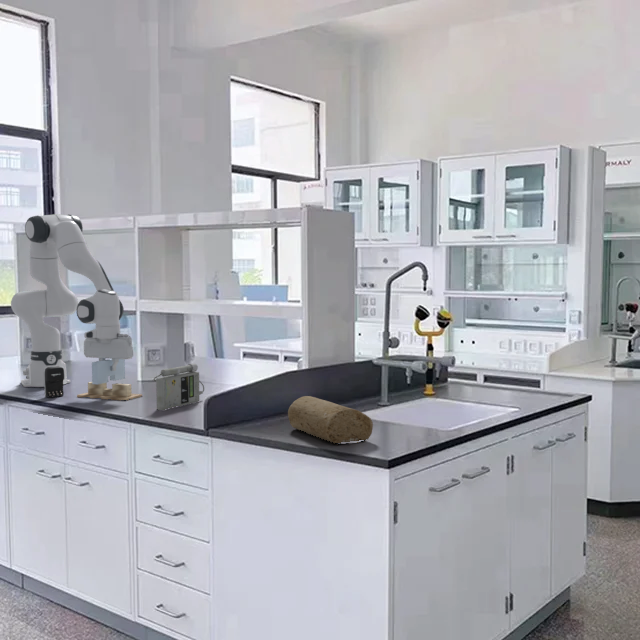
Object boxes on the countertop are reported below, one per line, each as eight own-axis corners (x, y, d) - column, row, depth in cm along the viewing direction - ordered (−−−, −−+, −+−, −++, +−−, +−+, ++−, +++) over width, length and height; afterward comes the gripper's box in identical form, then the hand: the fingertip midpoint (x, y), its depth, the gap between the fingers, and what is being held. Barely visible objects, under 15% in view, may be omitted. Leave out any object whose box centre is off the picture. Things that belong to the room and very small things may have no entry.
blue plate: (97, 384, 270) (97, 362, 270) (92, 384, 271) (91, 362, 271) (125, 378, 285) (124, 357, 285) (119, 378, 286) (119, 357, 286)
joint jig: (77, 397, 278) (76, 383, 278) (94, 392, 288) (94, 380, 287) (125, 400, 270) (125, 387, 270) (142, 396, 279) (142, 383, 279)
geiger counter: (164, 370, 249) (210, 361, 271) (150, 368, 252) (196, 360, 274) (165, 411, 250) (211, 399, 272) (150, 409, 253) (197, 398, 275)
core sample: (324, 425, 228) (324, 392, 227) (374, 442, 205) (374, 406, 204) (284, 430, 221) (283, 397, 220) (330, 448, 198) (330, 411, 197)
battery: (47, 398, 276) (47, 367, 275) (43, 397, 278) (42, 366, 278) (66, 396, 280) (65, 366, 279) (62, 395, 283) (61, 365, 282)
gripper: (136, 333, 276) (137, 370, 277) (91, 331, 284) (92, 368, 285) (125, 334, 270) (126, 372, 271) (80, 333, 278) (81, 370, 279)
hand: (108, 370), depth 278 cm, fingers closed on blue plate, 2 cm apart
